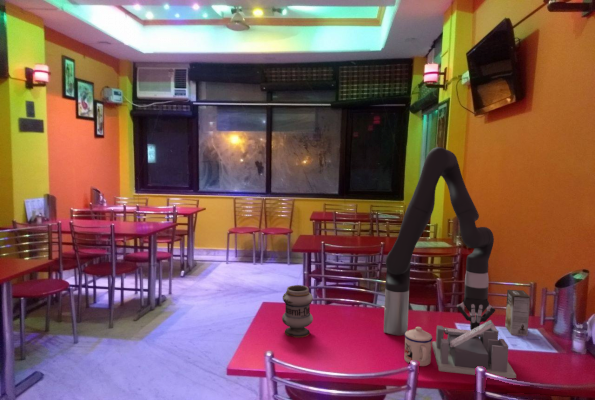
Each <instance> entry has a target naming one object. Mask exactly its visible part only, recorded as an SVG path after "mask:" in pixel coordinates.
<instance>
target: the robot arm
mask: <svg viewBox="0 0 595 400" xmlns="http://www.w3.org/2000/svg"><path fill="white" fill-rule="evenodd" d="M426 155H427V156H426V157H425V160H424V163H423V167H422V170H421V173H420V177H419V179H418V182H417V184H416V187H415V189H414V192H413V194H412V197H411V199H410V201H409V203H408V205H407V208H406V210H405V213H404V215H403V218H402V222H401V225H400V229H399V232H398V235H397V238H396V241H395V242H394V244H393V246H392V248H391V250H390V251H389V252H388V254H387V256H386V258H385V266H386V273H385V274H386V275H385V284H384V285H385V287H384V288H385V290H384V292H385V294H384V311H383V313H384V315H383V317H384V318H383V333H384V334H385V333H386V334H388V335H389V334H390V335H393V336H405V333H406V331H408V330H409V329H408V328H409V326H408V324H409V302H410V301H409V297H410V282H411V262H412V261H411V260H412V257H413V254H414V251H415V248H416V246H417V243H418V242H419V240H420V238H421V237H422V234H423V233H424V231H425V229H426V227H427V226H428V224H429V221H430V219H431V216H432V215H433V212H434V208H435V203H436V190H437V189H436V188H437V184H438V183H439V180H440V178H441V177H442V178H443V180H444V181H445V184H446V186H447V189H448V192H449V198H450V203H451V204H450V205H451V207H452V209H453V211H454V213H455V216H456V218H457V219H458V224H459V230H460V236H461V240H462V241H463V242H462V243H464V245H465V246H467V247H468V248H470V249H473V251H472V253H470V254H468V255H467V256H466V265H465V275H464V277H465V278H464V298H463V299H462V302H461V303H457V304H456V308H457V309H458V311H459V312H460V313H461V315H462V316H463V317H464V318H465V320H466V321H467V322H468V321H469V322H470V325H469V326H470V327H469V330H472V329H474V328H476V327H478V326H480V325H481V323H485V322H487V321H488V319H489V318H490V317H491V316H492V315H493V314H494V313H495V312H496V309H495V307H494V306H492V305H490V302H489V299H488V298H489V261H490V256H491V253H492V250H493V248H494V242H495V241H494V240H495V237H494V234H493V232H492V230H491V229H490V228H488V227H486V226H479V227H477V225H476V221H477V220H478V219H479V218H480V216H479V215H480V214H479V212H478V209H477V207H476V205H475V203H474V200H472V198H471V195H470V193H469V191H468V188H467V186H466V184H465V181H464V179H463V174H462V172H461V168H460V165H459V161H458V158H457V156H456V154H455V153H454V152H452V151H450V150H448V149H446V148H444V147H440V146H437V147H433V148H431V150H430V151H429V152H428V153H427V154H426ZM465 308H466V310H467V311H468V312H469V314H468V313H467V312H466V311H465ZM485 310H486V311H485ZM482 313H483V314H482Z"/></svg>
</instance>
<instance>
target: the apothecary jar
mask: <svg viewBox="0 0 595 400" xmlns="http://www.w3.org/2000/svg"><path fill="white" fill-rule="evenodd" d="M309 290H310V289H309V287H308V286H306V285H303V284H297V285H296V284H294V285H289V286H287V288H286V291H285V292H284V293H283V295H282V301H283V302H284V304H285V312H284V313H283V314H282V317H281V320H282V321H281V322H282V323H283V324H284V325H286V326H287V328H285V330H284V334H285V335H286V336H288V337H292V338H304V337H308V336H309V335H310V330H309V328H306V327H308V326H310V325H311V324H312V323H313V321H314V317H313V315H312V314H311V311H310V309H311V308H310V306H311V305H310V304H311V303H312V302H313V300H314V297H313V295H312V294H311V292H309Z"/></svg>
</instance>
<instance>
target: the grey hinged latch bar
mask: <svg viewBox="0 0 595 400" xmlns="http://www.w3.org/2000/svg"><path fill="white" fill-rule="evenodd" d="M443 329H444V334H445V335H448V334H453V335H463V334H465V333H467V332H469V331H470V330H471V329H460V328H451V327H450V328H449V327H446V326H443ZM474 337H479V338H480V337H483V332H482V333H480V334H478V335H476V336H474Z"/></svg>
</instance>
